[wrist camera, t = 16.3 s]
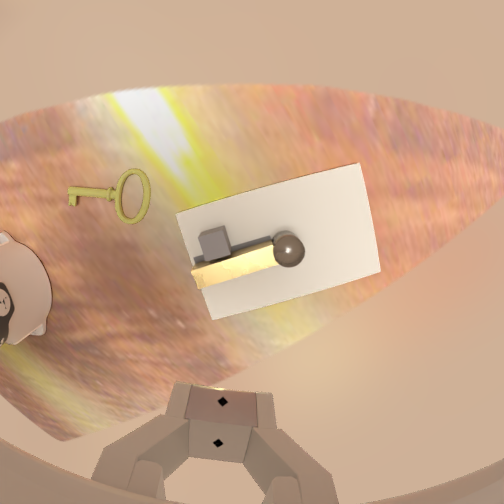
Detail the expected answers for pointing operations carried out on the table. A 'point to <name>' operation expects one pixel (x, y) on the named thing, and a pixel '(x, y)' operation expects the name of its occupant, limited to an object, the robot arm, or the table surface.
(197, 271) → the swing arm
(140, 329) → the table surface
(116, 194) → the key
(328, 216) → the lock plate
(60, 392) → the table surface
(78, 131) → the table surface
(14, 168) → the table surface
